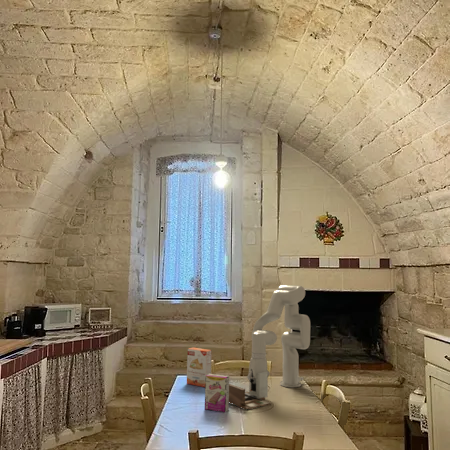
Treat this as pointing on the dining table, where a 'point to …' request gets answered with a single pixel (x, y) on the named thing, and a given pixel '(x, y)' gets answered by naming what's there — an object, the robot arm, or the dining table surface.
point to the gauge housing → (239, 398)
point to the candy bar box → (217, 392)
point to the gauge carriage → (250, 397)
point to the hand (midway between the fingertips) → (258, 389)
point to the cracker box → (198, 366)
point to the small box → (260, 385)
